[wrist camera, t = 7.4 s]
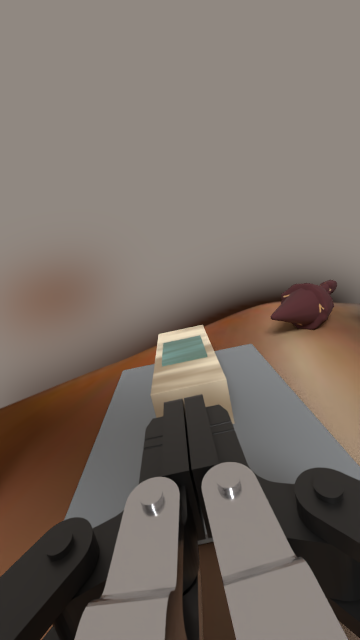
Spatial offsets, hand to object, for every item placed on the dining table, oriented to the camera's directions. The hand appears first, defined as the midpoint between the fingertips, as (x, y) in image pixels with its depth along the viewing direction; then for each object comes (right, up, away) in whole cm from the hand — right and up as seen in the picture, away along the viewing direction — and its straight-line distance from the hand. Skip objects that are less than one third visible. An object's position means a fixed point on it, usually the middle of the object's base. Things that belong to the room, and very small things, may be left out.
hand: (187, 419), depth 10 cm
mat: (+1, -5, +15) cm, 16 cm away
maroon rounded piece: (+19, +2, +30) cm, 36 cm away
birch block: (+1, -3, +11) cm, 12 cm away
